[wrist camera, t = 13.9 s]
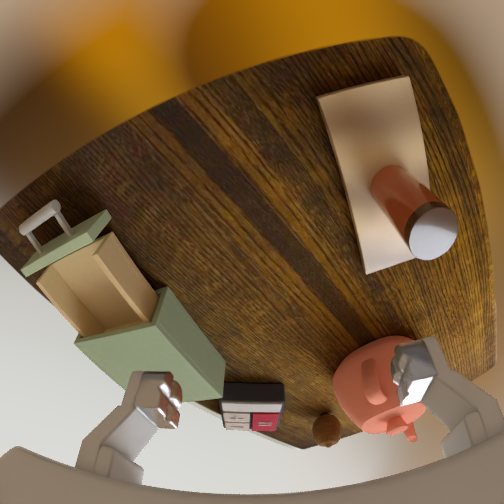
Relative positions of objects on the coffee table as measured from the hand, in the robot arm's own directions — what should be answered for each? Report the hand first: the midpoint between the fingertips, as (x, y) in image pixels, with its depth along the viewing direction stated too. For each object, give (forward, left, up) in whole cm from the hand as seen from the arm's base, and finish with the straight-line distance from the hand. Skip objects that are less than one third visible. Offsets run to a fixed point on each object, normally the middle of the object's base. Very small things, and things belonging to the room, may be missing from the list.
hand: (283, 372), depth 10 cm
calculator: (+40, -18, -22) cm, 49 cm away
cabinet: (+17, -24, -21) cm, 36 cm away
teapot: (+38, +7, -22) cm, 44 cm away
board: (+5, +11, -21) cm, 25 cm away
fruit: (+53, -6, -22) cm, 58 cm away
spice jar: (+5, +11, -20) cm, 23 cm away
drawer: (+3, -24, -20) cm, 31 cm away
